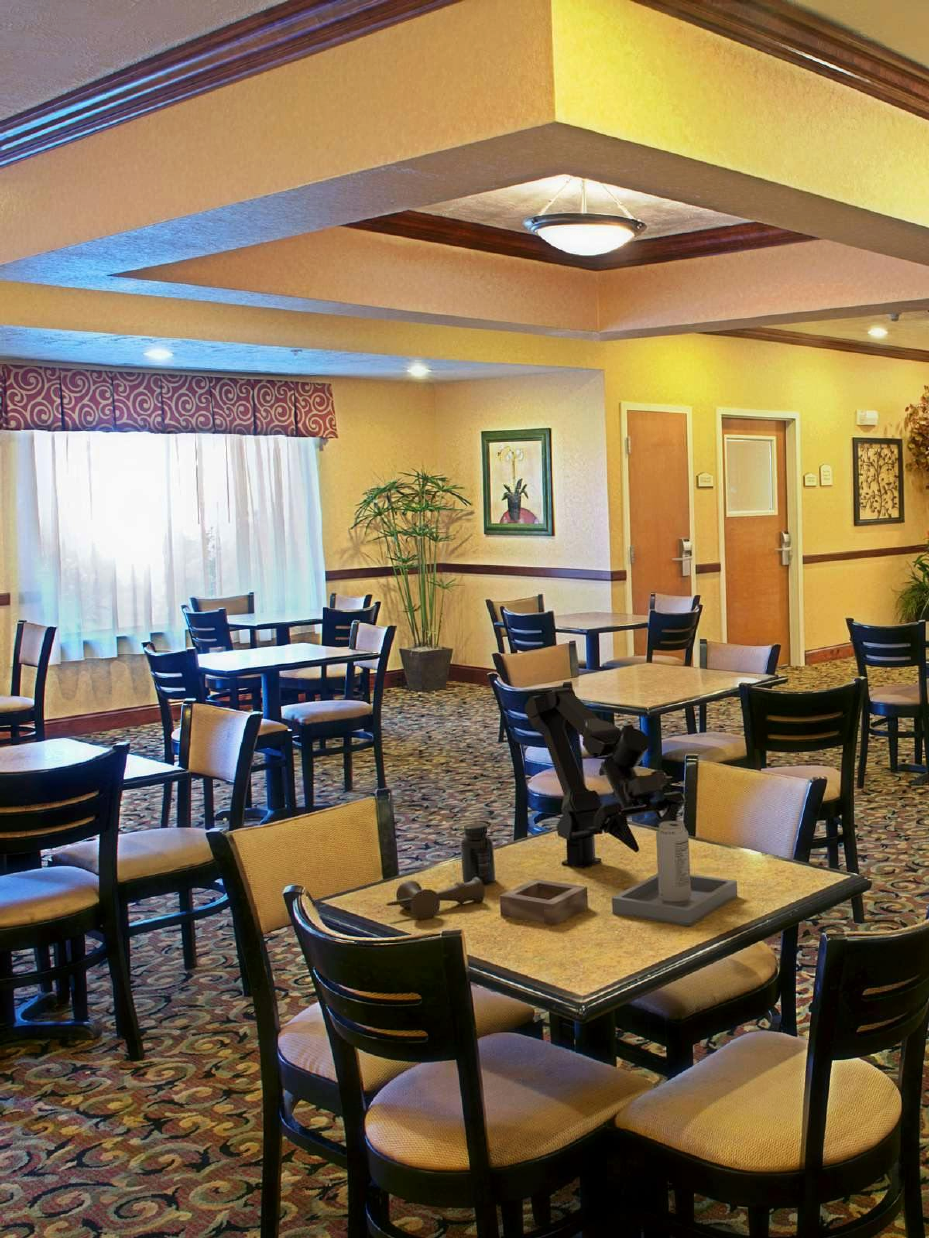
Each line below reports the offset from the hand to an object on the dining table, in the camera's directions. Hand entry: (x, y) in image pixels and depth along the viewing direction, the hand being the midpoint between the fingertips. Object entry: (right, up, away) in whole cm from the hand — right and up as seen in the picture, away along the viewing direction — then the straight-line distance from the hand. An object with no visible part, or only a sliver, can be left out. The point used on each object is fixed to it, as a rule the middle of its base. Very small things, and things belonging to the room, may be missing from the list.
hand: (657, 847), depth 241 cm
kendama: (-43, -13, +2) cm, 45 cm away
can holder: (-22, -12, -4) cm, 25 cm away
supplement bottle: (-34, -11, +18) cm, 40 cm away
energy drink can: (+3, -10, -4) cm, 11 cm away
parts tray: (+3, -10, -4) cm, 11 cm away
